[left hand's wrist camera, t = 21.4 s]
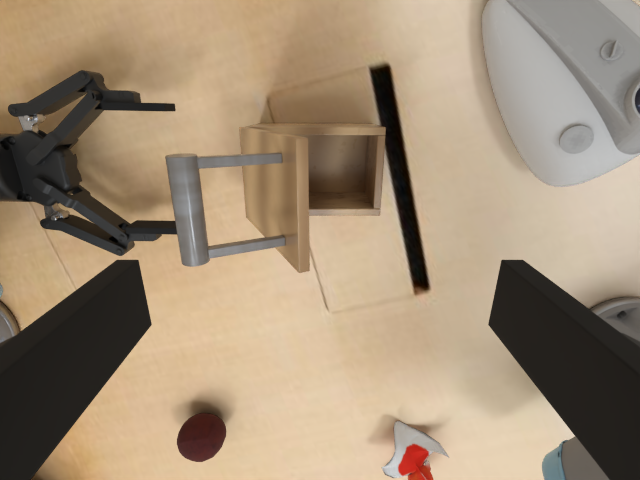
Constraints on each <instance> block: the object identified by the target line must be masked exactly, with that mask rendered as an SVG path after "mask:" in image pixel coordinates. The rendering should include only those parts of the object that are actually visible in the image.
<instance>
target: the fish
mask: <svg viewBox="0 0 640 480" xmlns="http://www.w3.org/2000/svg"><path fill="white" fill-rule="evenodd" d="M394 439H395V453H394V456H393V457H392V459H391V460H390V462H389V463H388V464H387V465H386V466H384V467H381V468H382V469H383V471H384V473H385V475H387V476H390V477H392V478H399V477H403V476H407V475H408V480H433V477H432V474H431V472H430V470H431V468H430V464H429V461H426V459H427V458H428V456H429V455H430V454H431V453H432V452H437V453H440V454H443V455H445V456H447V457H449V456H448V455H447V453H446V452H445V451H444V449H443V448H442V446H441V445H440V443H438V442H437V441H435V440H434V439H433V438H431V437H430V436H428V435H427V434H425V433H423V432H421V431H419V430H417V429H415V428H412V427H410V426H408V425H406V424H404V423H402V422H400V421H396V422H395V425H394ZM425 461H426V462H425ZM424 463H425V465H423V464H424Z"/></svg>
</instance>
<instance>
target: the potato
mask: <svg viewBox="0 0 640 480" xmlns="http://www.w3.org/2000/svg"><path fill="white" fill-rule="evenodd" d="M225 437H226V426H225V424H224V422H223V421H222V420H221V419H220V418H219V417H217V416H215V415H213V414H207V413H200V414H196V415H194V416H192V417H191V418H189V419H188V420H187V421H186V422H185V423H184V424H183V426H182V427H181V429H180V431H179V434H178V438H177V446H178V449H179V452H180V453H181V454H182V456H184V457H185V458H187V459H189V460H191V461H195V462H203V461H205V460H208V459H210V458H212V457H214V455H215V454H216V453H217V452H218V451H219V450H220V448H221V447H222V445H223V442H224V439H225Z"/></svg>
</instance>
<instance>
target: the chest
mask: <svg viewBox="0 0 640 480" xmlns="http://www.w3.org/2000/svg"><path fill="white" fill-rule="evenodd" d="M247 127H249V128H255V129H260V130H266V131H272V132H277V133H283V134H289V135H294V136H300V137H305V138H308V175H309V215H324V216H379V215H380V207H381V192H382V177H383V162H384V147H385V132H386V127H383V126H379V125H375V124H270V123H260V124H255V125H251V126H247Z"/></svg>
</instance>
